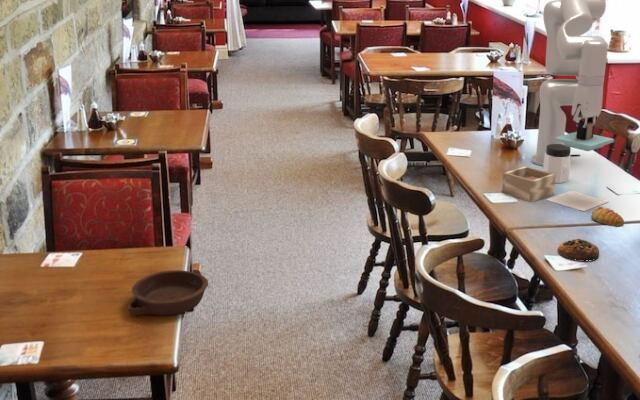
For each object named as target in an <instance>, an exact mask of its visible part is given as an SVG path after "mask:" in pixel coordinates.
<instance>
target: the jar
mask: <svg viewBox="0 0 640 400" xmlns="http://www.w3.org/2000/svg"><path fill="white" fill-rule="evenodd" d="M571 148H572V147H567V146H564V144H563V145H562V144H550V145H547V147H546V152H545V156H544V166H542V167H543V169H542V171H545V172H549V173H552V174H556V175H555V184H562V183H563V184H564V183H566V182H569V178H570V168H571V159H572V156H571V155H572V154H571V151H572V150H571Z"/></svg>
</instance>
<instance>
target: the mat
mask: <svg viewBox="0 0 640 400" xmlns="http://www.w3.org/2000/svg"><path fill="white" fill-rule="evenodd" d="M545 200H546V202H551V203H554V204H556V205H560V206H563V207H567V208H570V209H573V210H577V211H579V212H584V213H585V212H587V211H590V210H593V209H596V208H597V207H601V206H602V205H604V204H607V203H609V201H608V200H605V199H601V198H598V197H594V196H592V195H588V194H584V193H582V192H581V193H580V192H578V191H577V192H576V191H573V190H569V191H566V192H563V193H561V194H557V195H554V196H552V197H549V198H547V199H545Z"/></svg>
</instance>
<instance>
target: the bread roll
mask: <svg viewBox="0 0 640 400" xmlns="http://www.w3.org/2000/svg"><path fill="white" fill-rule="evenodd" d="M557 253H559V255H562V256H561V257H564V258H567V259H569V258H570V259H569V260H572V259H574V260H575V259H576V260H584V261H583V262H588V261H589V260H593V259H595V260H596V259H597V258H598V257H599V255H600V249H599V247H598V246H596V245H595V243H592V242H591V241H588V240H585V239H581V238H577V239H572V240H567V241H564V242H562V243H561V244H560V245H559V246H558V247H557ZM586 260H588V261H586ZM593 261H594V260H593ZM589 262H590V261H589Z"/></svg>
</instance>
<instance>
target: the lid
mask: <svg viewBox="0 0 640 400" xmlns="http://www.w3.org/2000/svg"><path fill="white" fill-rule="evenodd" d="M593 126H594V125H593V123H590V122H587V125H586V128H587V135H586V140H581V139H577V138H576V135H577V131H575V132H571V133H566V134H565V135H563V136H559V137H556V138H555V140H554V141H557V142H562V143H564V144H563V145H564V146H567V147H570V148H572V149H578V150H582V151H584V152H585V151H586V152H591V151H593V150H597V149H601V148H604V146H606V145H609V144H612V143H614V142H615V138H610V137H606V136H602V135H597V134H593V138H591V137H592V128H593Z"/></svg>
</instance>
